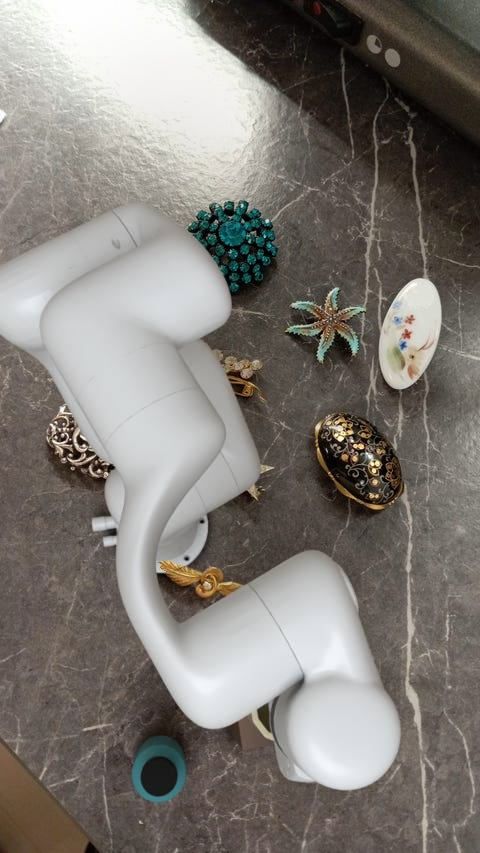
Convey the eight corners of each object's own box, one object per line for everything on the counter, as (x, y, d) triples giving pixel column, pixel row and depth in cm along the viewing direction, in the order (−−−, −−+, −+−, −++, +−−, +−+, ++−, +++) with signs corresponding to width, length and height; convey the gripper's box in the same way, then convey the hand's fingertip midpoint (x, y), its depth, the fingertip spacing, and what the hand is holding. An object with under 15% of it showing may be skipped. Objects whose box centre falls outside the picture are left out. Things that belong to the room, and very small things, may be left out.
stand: (231, 735, 119) (242, 750, 98) (221, 665, 121) (230, 666, 100) (298, 724, 119) (323, 737, 99) (287, 655, 122) (309, 653, 101)
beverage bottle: (134, 735, 118) (125, 749, 98) (185, 730, 118) (186, 743, 99) (136, 788, 116) (128, 813, 97) (188, 783, 117) (190, 807, 97)
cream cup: (249, 740, 99) (256, 749, 89) (239, 673, 100) (245, 674, 91) (313, 730, 99) (328, 737, 90) (302, 663, 101) (315, 663, 91)
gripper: (256, 622, 71) (240, 631, 89) (288, 838, 67) (265, 801, 85) (349, 608, 71) (315, 619, 89) (386, 820, 68) (343, 788, 85)
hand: (291, 708), depth 87 cm, fingers closed
